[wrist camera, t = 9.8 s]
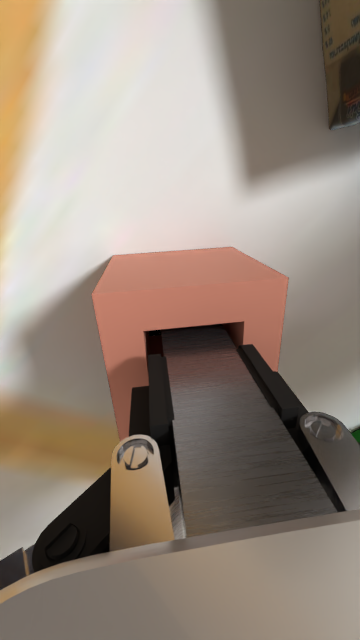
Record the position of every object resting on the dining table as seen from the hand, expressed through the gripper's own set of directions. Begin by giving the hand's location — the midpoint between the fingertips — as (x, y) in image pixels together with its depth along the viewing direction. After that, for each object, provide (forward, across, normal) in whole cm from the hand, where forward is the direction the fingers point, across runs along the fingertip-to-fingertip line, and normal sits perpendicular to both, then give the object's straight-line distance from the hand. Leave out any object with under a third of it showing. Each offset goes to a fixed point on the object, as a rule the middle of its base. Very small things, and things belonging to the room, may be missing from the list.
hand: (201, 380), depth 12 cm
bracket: (+9, 0, +1) cm, 9 cm away
